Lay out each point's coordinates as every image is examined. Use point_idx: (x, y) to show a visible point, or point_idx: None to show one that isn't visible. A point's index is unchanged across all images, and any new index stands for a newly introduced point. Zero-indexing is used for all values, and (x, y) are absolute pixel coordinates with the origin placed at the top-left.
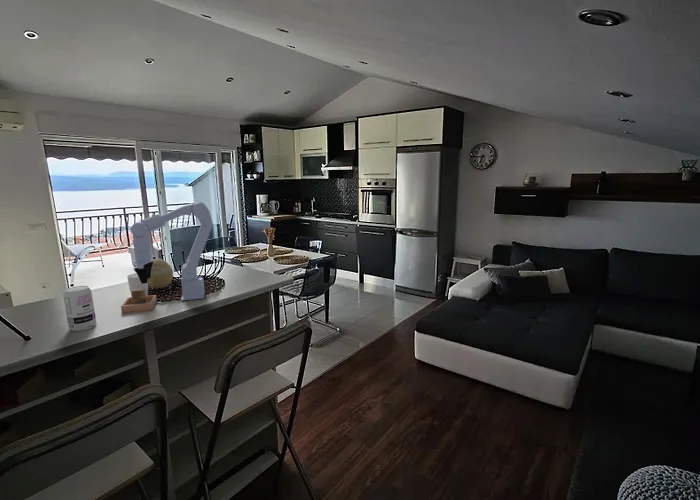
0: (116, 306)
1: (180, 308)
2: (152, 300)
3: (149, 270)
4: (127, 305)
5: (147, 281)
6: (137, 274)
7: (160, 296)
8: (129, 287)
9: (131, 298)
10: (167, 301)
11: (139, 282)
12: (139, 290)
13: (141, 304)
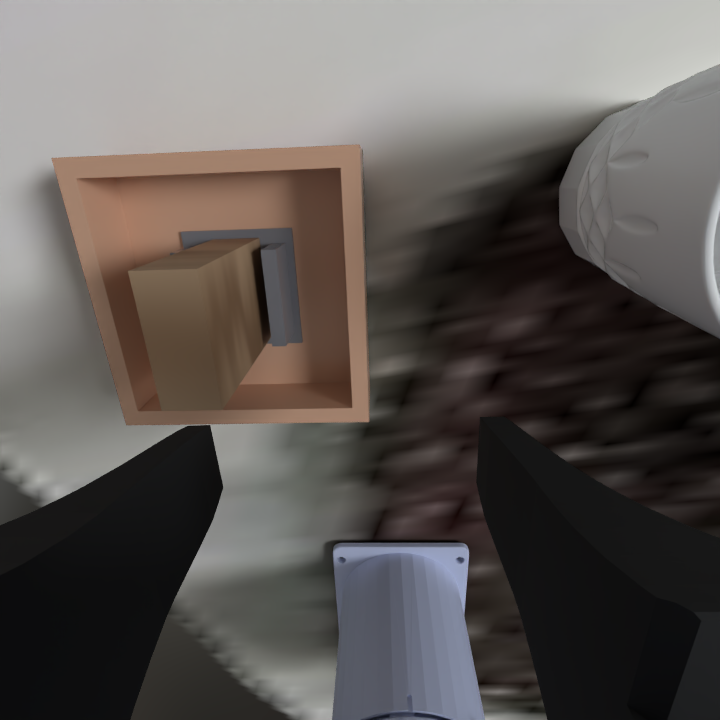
0: (337, 20)
1: None
2: (200, 421)
3: (523, 602)
4: (75, 225)
5: (215, 506)
6: (10, 521)
7: (515, 391)
8: (698, 73)
9: (343, 191)
10: (353, 460)
11: (644, 255)
12: (152, 368)
13: (105, 350)
